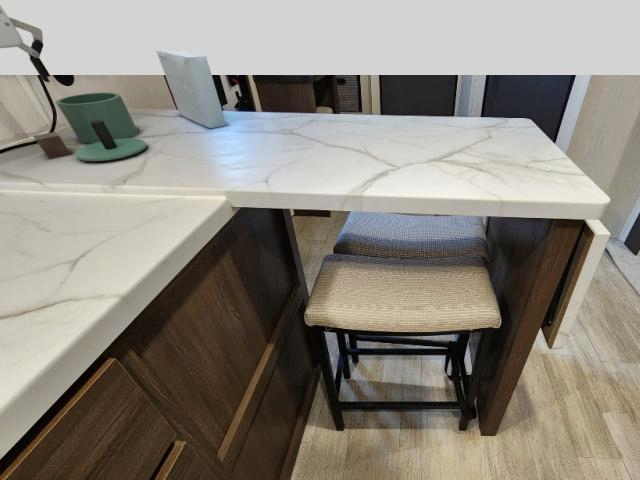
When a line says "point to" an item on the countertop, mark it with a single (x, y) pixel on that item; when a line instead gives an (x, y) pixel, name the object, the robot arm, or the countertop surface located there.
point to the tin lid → (108, 145)
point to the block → (52, 145)
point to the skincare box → (192, 87)
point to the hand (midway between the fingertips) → (16, 84)
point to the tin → (97, 115)
